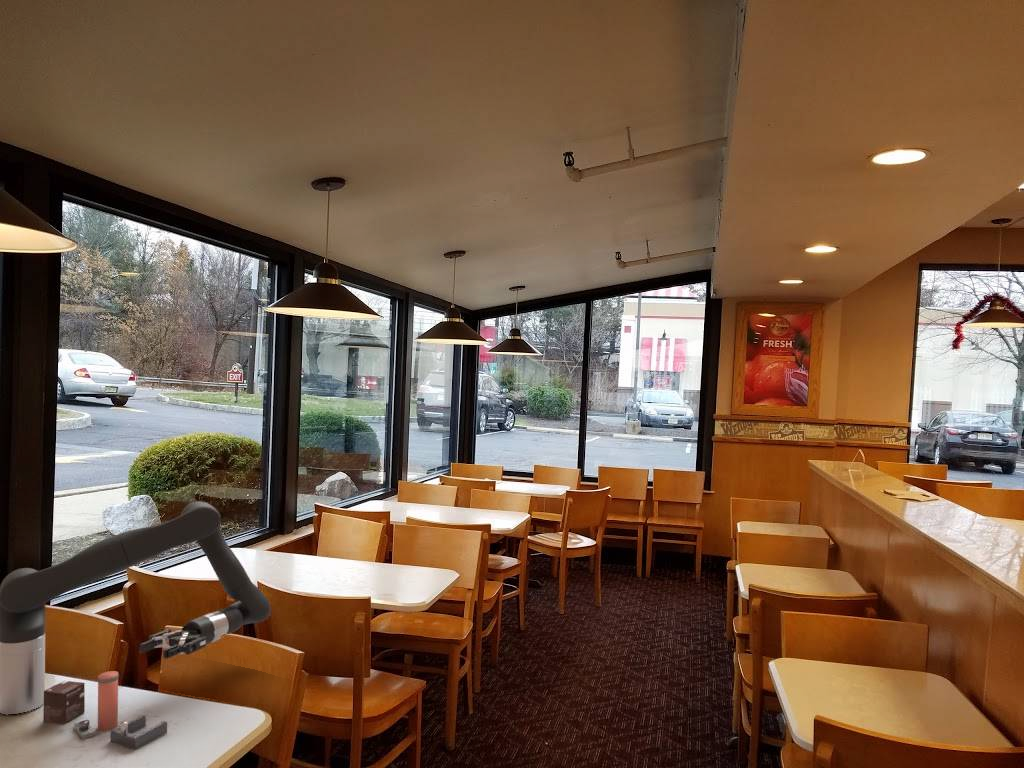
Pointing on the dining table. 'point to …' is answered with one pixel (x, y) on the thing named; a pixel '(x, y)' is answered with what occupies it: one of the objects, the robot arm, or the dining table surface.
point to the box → (64, 702)
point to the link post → (108, 700)
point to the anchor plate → (84, 729)
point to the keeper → (132, 741)
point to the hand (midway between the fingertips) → (152, 652)
